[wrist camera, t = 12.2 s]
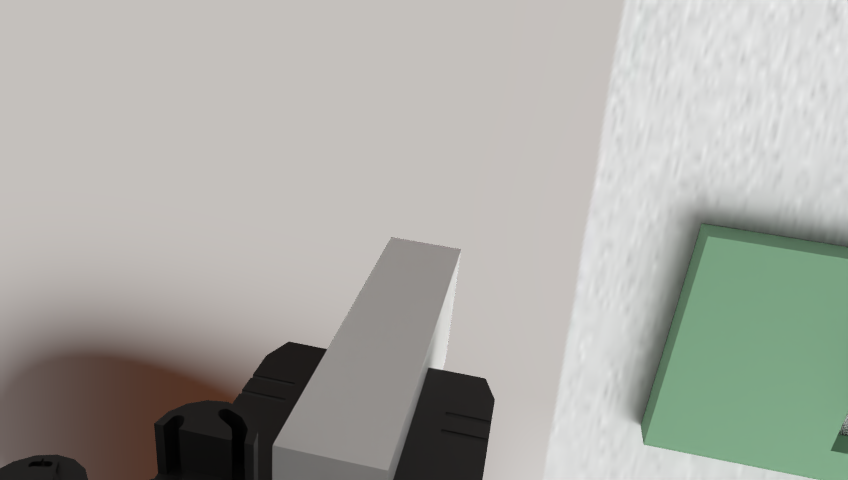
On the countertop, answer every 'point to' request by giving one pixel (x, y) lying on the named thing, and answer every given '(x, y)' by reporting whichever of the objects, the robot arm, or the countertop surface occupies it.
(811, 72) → the countertop surface
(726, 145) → the countertop surface
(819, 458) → the green
